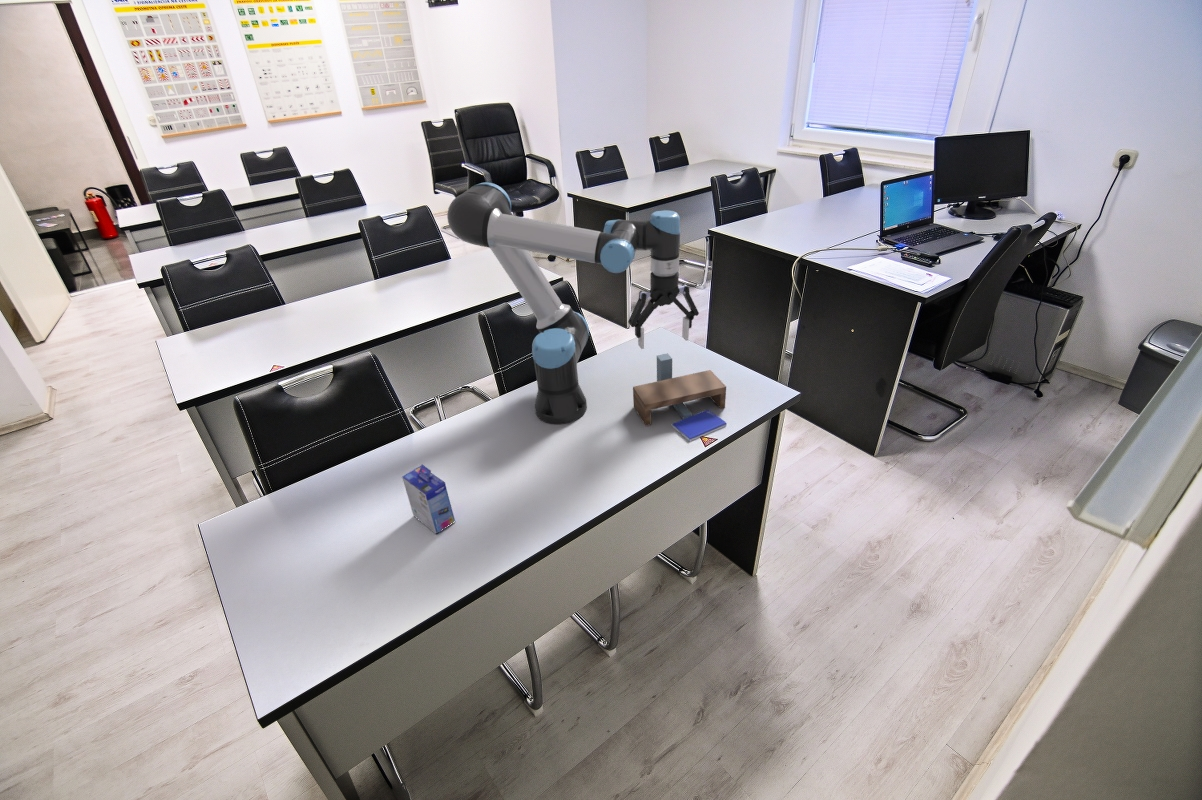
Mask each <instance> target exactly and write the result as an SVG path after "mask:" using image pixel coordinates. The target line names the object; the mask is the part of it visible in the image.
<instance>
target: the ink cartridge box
mask: <svg viewBox="0 0 1202 800" xmlns="http://www.w3.org/2000/svg"><path fill="white" fill-rule="evenodd" d="M401 478H402V482H403V485H404V488H405V491H406V492H405V493H406V495H407V498H408V501H409V505H410V509H411V512H412V515H413V517H414V516H415V517H417V518H418V519H419V520H420V521H421V522H420V521H419V520H418V519H417V518H416V519H417V520H418V521H419V522H420V523H422V522H423V523H424V524H425V525H426V526H425V525H424V524H423V523H422V524H423V525H424V526H425V527H427V526H428V527H429V528H430V529H431V530H430V529H429V528H428V527H427V528H428V529H429V530H430V531H432V530H433V531H434V532H435V533H438V532H439V531H441V530H442V529H444V528H445V527H447V526H448V525H450V524H451V523H453V522H454V521H455V522H456V520H455V519H456V518H455V516H454V512H453V508H452V504H451V500H450V496H449V493H448V489H447V486H446V482H445V481H444V480H443V479H441V478H440V477H438V476H436V475H435V474H434V473H432V470H431V469H429V467H426V466H425V465H423V464H420V466H418V467H416V468H414V469H413V470H411V471H409V472H408V473H406V474H405V475H403V476H402V477H401ZM415 517H414V518H415ZM447 528H448V527H447ZM444 530H445V529H444ZM433 531H432V532H433ZM434 532H433V533H434ZM441 532H442V531H441ZM435 533H434V534H435ZM439 533H440V532H439ZM439 533H438V534H439Z"/></svg>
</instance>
